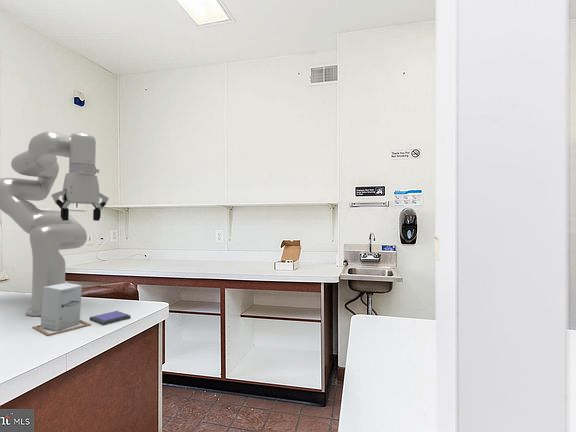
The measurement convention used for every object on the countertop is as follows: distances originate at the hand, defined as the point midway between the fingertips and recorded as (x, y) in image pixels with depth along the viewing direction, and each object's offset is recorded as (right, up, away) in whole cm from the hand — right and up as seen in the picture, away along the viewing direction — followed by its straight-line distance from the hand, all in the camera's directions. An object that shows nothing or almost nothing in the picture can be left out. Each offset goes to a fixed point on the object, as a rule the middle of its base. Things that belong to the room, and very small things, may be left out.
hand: (81, 220), depth 108 cm
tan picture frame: (0, -33, -9) cm, 34 cm away
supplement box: (-1, -33, -8) cm, 34 cm away
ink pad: (+10, -34, -1) cm, 35 cm away
